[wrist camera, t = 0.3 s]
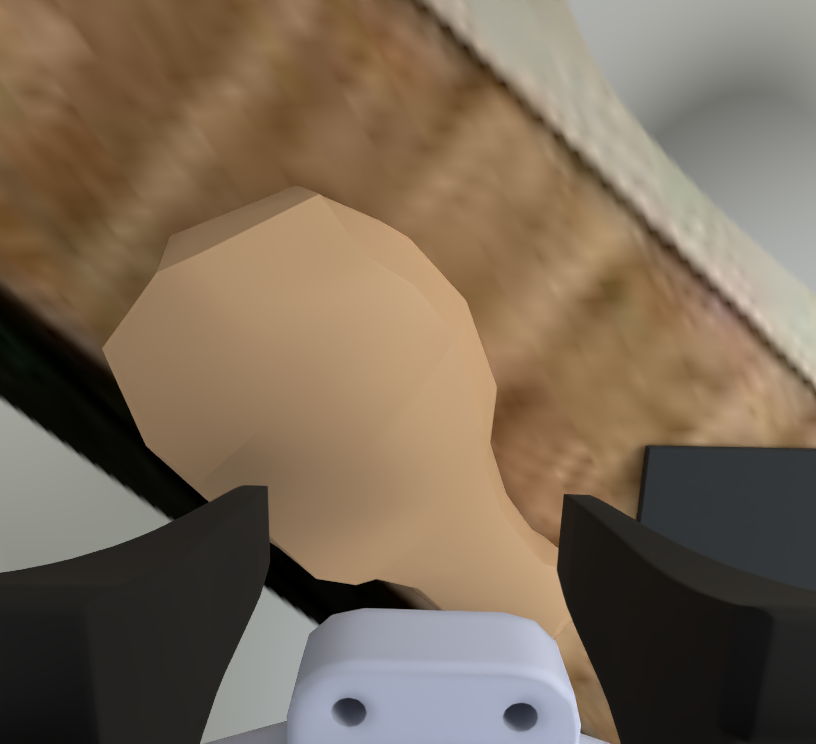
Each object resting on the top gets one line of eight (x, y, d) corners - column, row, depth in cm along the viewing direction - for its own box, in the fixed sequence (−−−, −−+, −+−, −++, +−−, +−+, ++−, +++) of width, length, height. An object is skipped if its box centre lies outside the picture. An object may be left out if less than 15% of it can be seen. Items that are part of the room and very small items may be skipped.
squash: (311, 132, 21) (330, 61, 13) (592, 487, 27) (733, 600, 19) (89, 322, 21) (-42, 379, 13) (421, 636, 27) (484, 819, 19)
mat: (852, 692, 27) (858, 699, 26) (615, 687, 27) (618, 694, 26) (910, 450, 24) (918, 454, 23) (645, 445, 24) (649, 448, 24)
